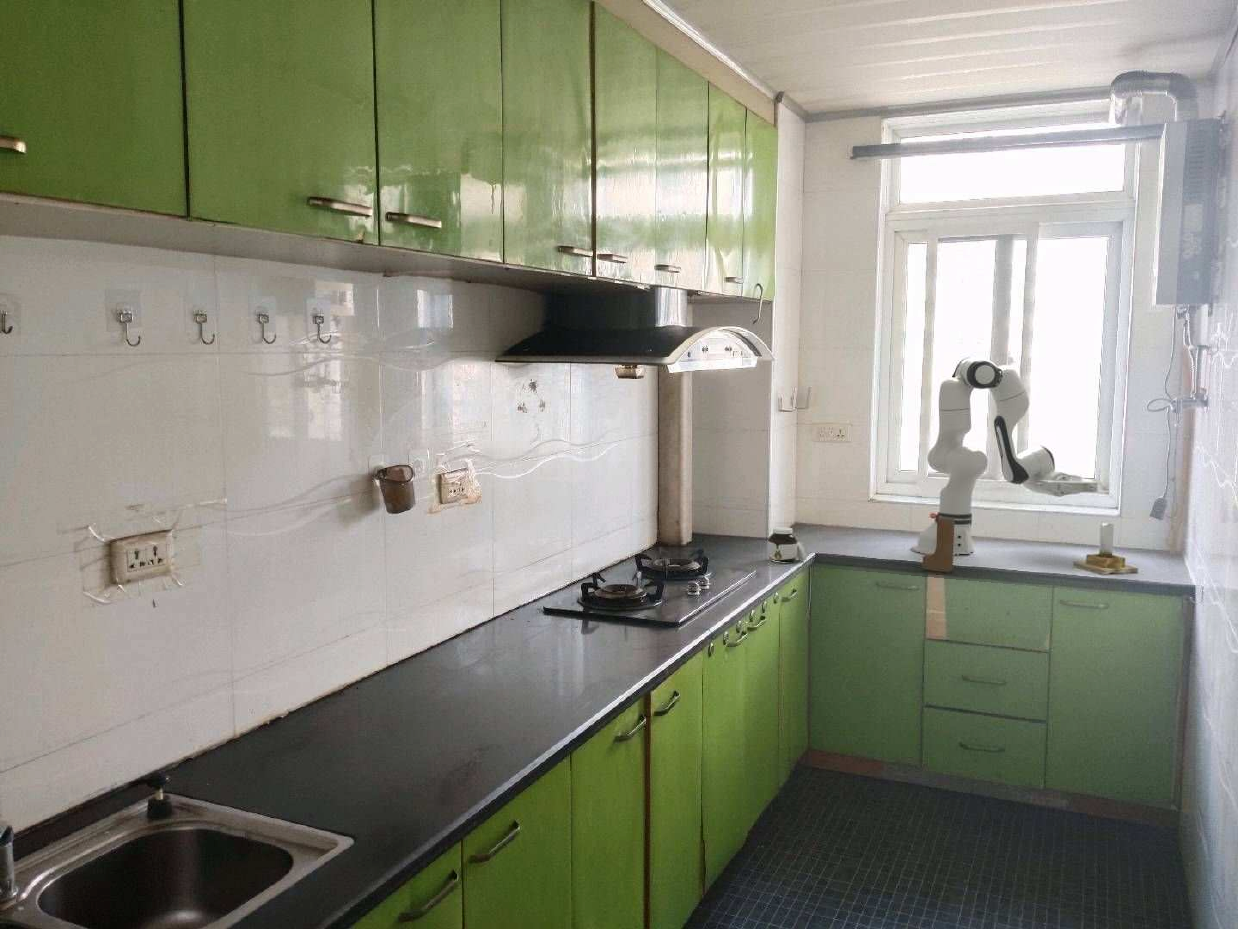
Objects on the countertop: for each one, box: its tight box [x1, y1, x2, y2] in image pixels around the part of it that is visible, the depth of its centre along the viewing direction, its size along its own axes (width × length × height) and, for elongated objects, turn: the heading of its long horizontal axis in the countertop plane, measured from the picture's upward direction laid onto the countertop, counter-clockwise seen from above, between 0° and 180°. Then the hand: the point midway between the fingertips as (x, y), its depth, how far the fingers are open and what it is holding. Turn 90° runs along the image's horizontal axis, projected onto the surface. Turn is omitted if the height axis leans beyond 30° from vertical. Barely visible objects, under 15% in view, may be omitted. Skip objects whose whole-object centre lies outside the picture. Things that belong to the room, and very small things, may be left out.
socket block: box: [1072, 553, 1139, 575], centre depth 337 cm, size 14×14×4 cm
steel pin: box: [1098, 522, 1115, 558], centre depth 336 cm, size 4×4×14 cm
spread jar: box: [767, 526, 807, 563], centre depth 349 cm, size 12×11×12 cm
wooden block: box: [921, 517, 955, 573], centre depth 334 cm, size 9×4×18 cm, turn 52°
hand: (1083, 488), depth 346 cm, fingers open, 8 cm apart
